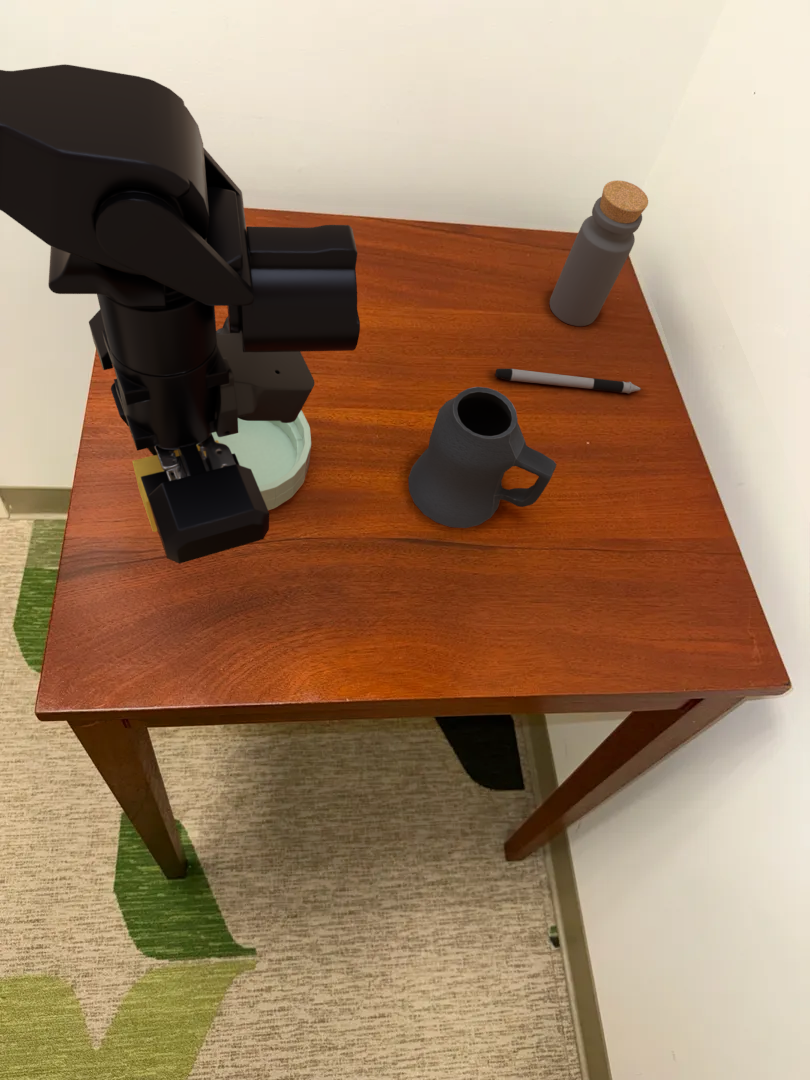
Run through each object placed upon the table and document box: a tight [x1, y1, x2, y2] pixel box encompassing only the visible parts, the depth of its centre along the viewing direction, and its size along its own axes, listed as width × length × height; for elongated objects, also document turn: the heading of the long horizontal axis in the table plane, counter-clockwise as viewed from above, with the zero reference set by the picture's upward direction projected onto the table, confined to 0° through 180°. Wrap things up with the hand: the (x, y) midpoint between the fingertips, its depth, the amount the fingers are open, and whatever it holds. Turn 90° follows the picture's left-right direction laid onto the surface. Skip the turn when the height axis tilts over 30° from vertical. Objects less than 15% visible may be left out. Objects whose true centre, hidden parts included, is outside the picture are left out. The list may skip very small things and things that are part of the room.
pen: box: [494, 368, 642, 395], centre depth 82 cm, size 1×16×1 cm, turn 91°
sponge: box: [131, 440, 219, 533], centre depth 54 cm, size 6×4×4 cm, turn 114°
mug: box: [407, 386, 557, 529], centre depth 68 cm, size 12×9×11 cm
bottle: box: [549, 180, 649, 327], centre depth 83 cm, size 6×6×15 cm
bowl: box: [197, 409, 312, 511], centre depth 69 cm, size 12×12×4 cm
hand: (186, 493), depth 55 cm, fingers closed on sponge, 3 cm apart
